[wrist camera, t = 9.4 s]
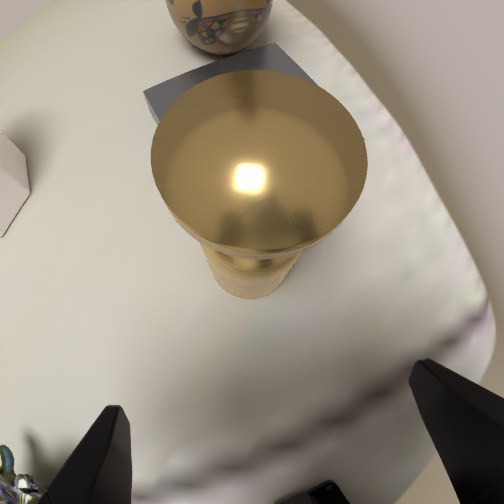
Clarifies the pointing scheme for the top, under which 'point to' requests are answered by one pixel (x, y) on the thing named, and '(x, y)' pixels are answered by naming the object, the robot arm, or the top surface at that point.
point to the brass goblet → (257, 172)
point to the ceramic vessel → (220, 22)
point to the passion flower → (15, 482)
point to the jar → (11, 181)
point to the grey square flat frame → (253, 59)
